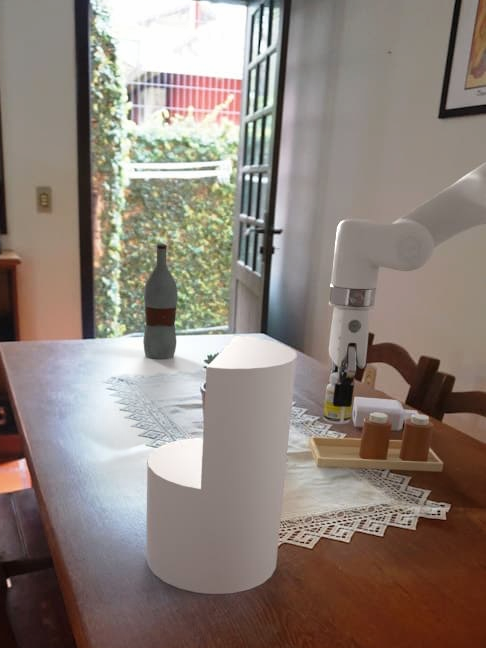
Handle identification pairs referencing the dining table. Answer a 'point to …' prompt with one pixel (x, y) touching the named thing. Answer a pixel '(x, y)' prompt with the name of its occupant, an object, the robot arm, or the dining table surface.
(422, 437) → the amber bottle
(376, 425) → the amber bottle
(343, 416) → the supplement bottle
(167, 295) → the grey green soda bottle
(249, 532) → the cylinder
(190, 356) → the dining table surface
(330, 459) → the tray
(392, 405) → the charger
